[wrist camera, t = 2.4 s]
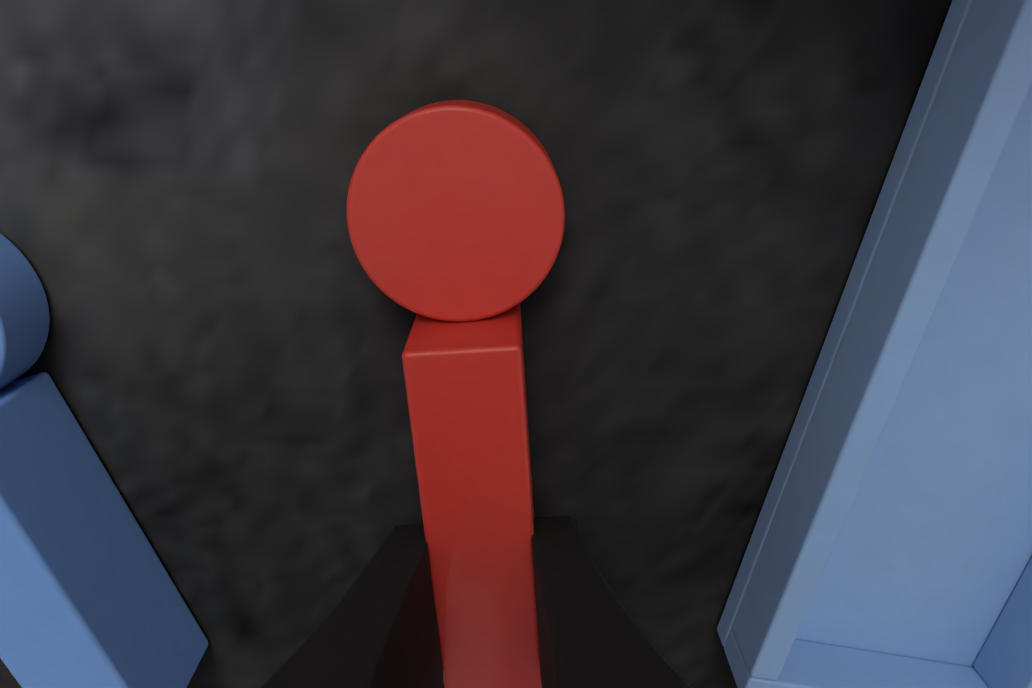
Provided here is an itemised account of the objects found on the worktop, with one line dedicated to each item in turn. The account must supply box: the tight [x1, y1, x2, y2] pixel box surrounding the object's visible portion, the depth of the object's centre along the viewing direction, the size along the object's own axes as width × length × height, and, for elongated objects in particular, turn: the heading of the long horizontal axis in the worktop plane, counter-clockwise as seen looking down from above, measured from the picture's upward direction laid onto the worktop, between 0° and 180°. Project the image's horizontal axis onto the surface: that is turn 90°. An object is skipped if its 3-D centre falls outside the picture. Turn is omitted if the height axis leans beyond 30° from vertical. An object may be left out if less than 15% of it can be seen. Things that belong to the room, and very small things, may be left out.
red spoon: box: [346, 100, 565, 688], centre depth 11 cm, size 9×3×2 cm, turn 4°
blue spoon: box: [0, 233, 208, 688], centre depth 12 cm, size 9×3×2 cm, turn 18°
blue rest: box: [717, 0, 1032, 688], centre depth 11 cm, size 14×5×2 cm, turn 169°
